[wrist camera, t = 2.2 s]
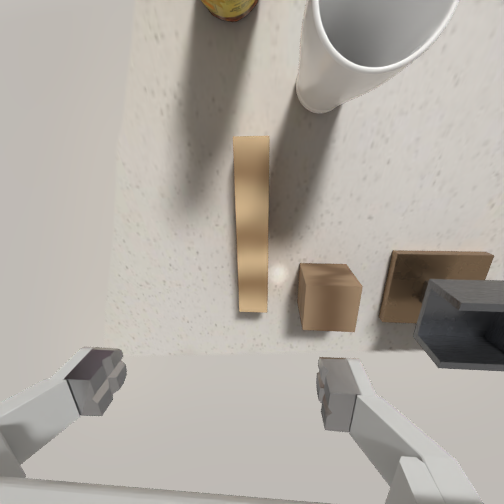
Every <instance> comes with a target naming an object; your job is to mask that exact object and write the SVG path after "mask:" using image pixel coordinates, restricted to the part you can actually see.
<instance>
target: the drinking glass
mask: <svg viewBox="0 0 504 504" xmlns="http://www.w3.org/2000/svg"><path fill="white" fill-rule="evenodd" d="M459 1H460V0H307V1H306V5H305V10H304V15H303V21H302V28H301V37H300V51H299V67H298V75H297V79H296V92H297V96H298V99H299V101H300V102H301V104H302V105H303V106H304V107H305V108H306V109H307V110H309V111H311V112H314V113H326V112H329V111H331V110H333V109H335V108H336V107H338V106H339V105H341V104H344V103H346V102H348V101H350V100H353V99H355V98H357V97H359V96H362V95H364V94H366V93H368V92H370V91H372V90H374V89H376V88H377V87H379V86H381V85H382V84H384V83H385V82H387V81H388V80H390V79H391V78H393V77H394V76H395V75H397V74H398V73H399V72H401V71H402V70H403V69H405V68H406V67H407V66H408V65H410V64H411V63H412V62H413V61H414V60H416V59H417V58H418V57H420V56H421V55H422V54H423V53H424V52H425V51H426V50H428V48H429V47H430V46H431V45H432V44H433V43H434V42H435V41H436V40H437V39H438V37H439V36H440V35H441V33H442V32H443V31H444V29H445V28H446V26H447V24H448V23H449V21H450V20H451V18H452V16H453V14H454V12H455V10H456V8H457V5H458V3H459Z"/></svg>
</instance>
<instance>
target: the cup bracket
mask: <svg viewBox="0 0 504 504" xmlns="http://www.w3.org/2000/svg"><path fill="white" fill-rule="evenodd" d="M493 258H494V255H492V254H490V253H487V252H458V251H393V252H392V257H391V261H390V266H389V271H388V276H387V280H386V285H385V290H384V294H383V299H382V304H381V308H380V313H379V318H380V319H381V321H382V322H395V323H417V324H416V328H415V331H414V335H413V337H414V338H415V340H416V341H417V342H418V343H419V345H420V346H421V347H422V348H423V349H424V351H425V352H426V353H427V354H428V356H429V357H430V358H431V359H432V361H433V362H434V363H435V364H436V365H437V367H438V368H448V369H469V370H489V371H504V281H495V280H485V279H486V276H487V273H488V271H489V268H490V265H491V263H492V260H493Z"/></svg>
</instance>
